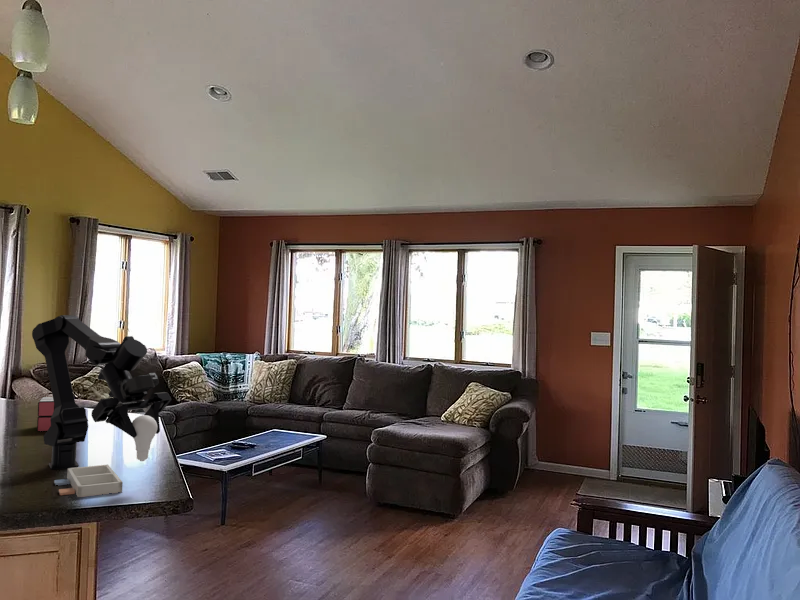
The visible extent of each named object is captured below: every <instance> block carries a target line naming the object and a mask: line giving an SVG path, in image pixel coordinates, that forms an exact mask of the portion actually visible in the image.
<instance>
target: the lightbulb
mask: <svg viewBox="0 0 800 600" xmlns="http://www.w3.org/2000/svg"><path fill="white" fill-rule="evenodd" d="M131 422H132V424H133V426H134V428H135V431H136V434H137V436H136V437H135V438H133V441H134V444H135V450H136V460H139V461H140V462H145V461H146V460H148V458H149V451H150V449H151V444H152V442H153V439H154V437H155V436H156V432H157V427H158V426H157V422H156V421H155V419H154V418H152V417H151V416H148V415H144V414H142V415H139V416H137V417H135V418H134V419H133V420H132V421H131Z"/></svg>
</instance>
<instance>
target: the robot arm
mask: <svg viewBox="0 0 800 600" xmlns="http://www.w3.org/2000/svg"><path fill="white" fill-rule="evenodd" d="M31 336H32V339H33V342H34V344H35V347H36V350H38V352H39V353H40V354H41V355H43V357H44V360H45V363H46V370H47V374H48V379H49V384H50V389H51V394H52V397H53V400H54V405H55V410H54V412H53V414H52V417H51V419H50V421H51V426H50V428H49V429H48V430H47V432H45V433H44V435H43V442H44V445H47V446H51V447H52V448H51V449H52V451H51V462H48V466H49V468H50V470H61V469H67V468H76V467H80V465H79V463H78V462H77V461H76V460H77V443H83V442H85V441H86V437H87V434H88V430H89V423H88V422H89V420H88V417H87V412H86V411H87V410H86V408H85V407H84V406H79V405H78V404H77V403H76V399H74V398H75V394H74V389H73V384H72V379H71V376H70V375H71V374H70V370H69V366H68V360H67V355H66V351H67V348H68V346H69V344H70V338H71V340H73V341H74V342H76V344H78V345H80V347H82V348H83V349H84V351H85V357H86V358H87V359H88V361H89V362H90V363H91V364H92V365H104V366H103V368H100V370H99V373H98V375H97V376H98V377H97V379H98V381H103V380H104V381H105V382H106V384H107V386H108V388H109V390H110V392H109V393H108V396H109V397H108V398H107V397H105V398H101V399H100V400H98V402H97V404H96V405H95V406H94V408H93V409H92V411H91V417H92V420H93V421H94V422H95V423H99V422H105V424H110V425H113V426H114V427H115V428H118V429H119V430H121V431H123V432H124V433H126V434H127V435H128V436H130V437H132V439H134V438H135V437H136V436H137V434H136V431H135V428H134V426H133V424H132V422H133V421H132V420H131V418H130V415H129V412H128V411H134V410H143V412H144V414H143V415H148V416H151V417H152V418H154V419H155V421H156V422H157V426H158V427H157V432H156V434H157V435H158V434H159V433H160V432H161V426H160V416H159V415H160V413H162V412H163V411H164V409H165V408H166V407H167V406H168V405H169V403H171V401H172V400H173V399H172V398H171V396H170V394H169V393H168V392H165V391H163V392H153V393H152V394H151V395H150V397H149V398H148V399H144V397H146V396H147V395H148V392H147V391H149V390H151V389H155V387H156V386H158V385H159V384H160V380H159V377H158V375H157V373H156V372H149V373H148V374H145V375H137V376H134V377H133V376H132V374H131V373H130V372H131V371H134V370H135V369H136V368H137V366H138V365H139V364H140V363H141V361H142V360H143V359H144V358H145V357H146V355H147V354H148V348H147V345H145V344H143V343H142V342H141V341H140V340H138V339H135V338H134V336H133V335H130V336H129V335H128V336H125V337H124V338H123V339H122V342H121V343H120V342H119V341H117V340H115V339H112V338H110V337H105V336H102V335H100V334H98V333H97V332H96V331H95V330H93V329H92V328H91V327H90V326H88V325H87V324H86V323H84V322H83V321H82V320H81V319H80V317H79V316H76V315H72V314H68V315H67V314H61V315H58V316H56V317H55V318H53V319H48V320H46V321H44V322H41V323H37V324H36V326H35V327H33V329H32V331H31ZM156 434H155V435H156Z"/></svg>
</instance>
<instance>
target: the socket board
mask: <svg viewBox="0 0 800 600" xmlns="http://www.w3.org/2000/svg"><path fill="white" fill-rule="evenodd" d="M66 469H67V470H66V473H67V475H66V478H62V479H55V480H53V484H54V485H55V486H56V485H58V486H66V485H67V484H68V485H71V487H68V488H59V489H58V493H59V496H68V495H76V496H77V498H84V497H93V496H102V494H103V495H110V494H109V493H112V494H119V493H118V492H120V493H123V480H121V478H120V476H118V475H117V474H116V472H115V471H114V469H112V467H111V466H110V465H109V464H101V465H89V466H88V465H87V466H79V467H74V468H66Z"/></svg>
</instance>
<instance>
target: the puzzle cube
mask: <svg viewBox="0 0 800 600" xmlns="http://www.w3.org/2000/svg"><path fill="white" fill-rule="evenodd" d="M74 399H75V397H74ZM75 400H76V399H75ZM54 410H55V405H54V400H53V396H48V397H47V396H45V397H44V396H43V397H42V398H40V400H39V401H38V403H37V420H36V421H37V426H36V431H37V432H38V431H40V432H41V431H42V432H43V431H47V430H48V429H49V428H50V426H51V421H50V419H51V417H52V414H53V412H54ZM40 432H39V433H40ZM42 432H41V433H42ZM43 433H44V432H43Z"/></svg>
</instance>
